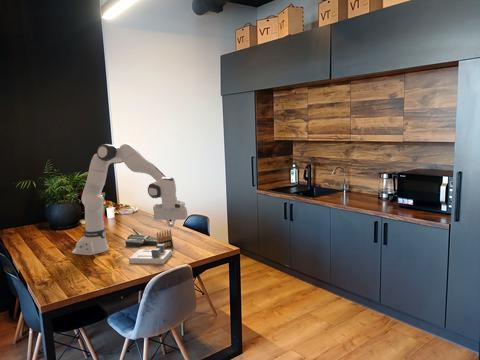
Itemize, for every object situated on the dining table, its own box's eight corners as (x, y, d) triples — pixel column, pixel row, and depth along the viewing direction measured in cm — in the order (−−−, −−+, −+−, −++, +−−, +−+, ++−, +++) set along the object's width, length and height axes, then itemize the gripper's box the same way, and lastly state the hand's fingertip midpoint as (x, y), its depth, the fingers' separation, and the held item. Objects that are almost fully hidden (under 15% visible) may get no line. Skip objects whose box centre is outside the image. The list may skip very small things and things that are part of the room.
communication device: (159, 247, 245) (158, 234, 244) (124, 246, 249) (123, 234, 247) (165, 241, 257) (164, 229, 255) (132, 240, 260) (131, 228, 259)
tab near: (151, 256, 218) (151, 250, 217) (154, 254, 221) (153, 248, 221) (158, 256, 217) (157, 250, 216) (160, 254, 221) (160, 248, 220)
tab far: (156, 251, 225) (156, 245, 225) (159, 249, 229) (158, 243, 228) (163, 252, 225) (162, 245, 224) (165, 250, 228) (164, 243, 228)
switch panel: (129, 262, 219) (128, 257, 218) (139, 253, 233) (139, 249, 233) (163, 263, 215) (163, 258, 215) (172, 254, 230) (171, 249, 230)
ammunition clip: (157, 250, 238) (156, 232, 236) (156, 249, 240) (155, 231, 238) (173, 246, 244) (171, 229, 242) (172, 246, 246) (170, 228, 244)
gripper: (150, 205, 220) (152, 228, 222) (184, 205, 217) (186, 228, 219) (154, 203, 226) (156, 225, 228) (187, 202, 223) (189, 225, 225)
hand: (171, 226), depth 223 cm, fingers closed
